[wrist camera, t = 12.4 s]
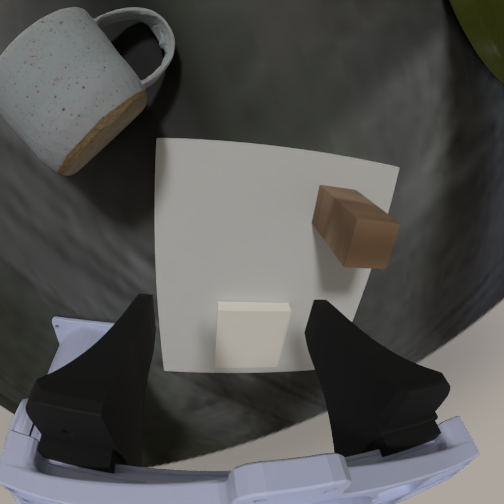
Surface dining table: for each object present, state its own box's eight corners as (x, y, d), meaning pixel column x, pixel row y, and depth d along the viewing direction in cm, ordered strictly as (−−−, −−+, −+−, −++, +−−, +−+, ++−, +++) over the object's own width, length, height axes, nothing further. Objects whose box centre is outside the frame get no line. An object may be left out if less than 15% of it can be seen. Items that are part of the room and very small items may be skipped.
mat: (331, 365, 32) (332, 368, 32) (164, 367, 29) (164, 370, 29) (396, 166, 22) (399, 167, 22) (157, 137, 19) (156, 138, 19)
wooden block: (347, 226, 23) (385, 269, 18) (311, 222, 23) (343, 267, 17) (356, 189, 22) (400, 224, 16) (319, 184, 22) (357, 219, 16)
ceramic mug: (90, 169, 19) (41, 204, 13) (27, 96, 16) (-38, 104, 9) (204, 66, 17) (202, 46, 11) (133, -9, 14) (101, -53, 7)
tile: (288, 302, 26) (274, 357, 29) (217, 300, 25) (213, 357, 29) (291, 311, 25) (277, 367, 28) (218, 310, 24) (214, 367, 27)
